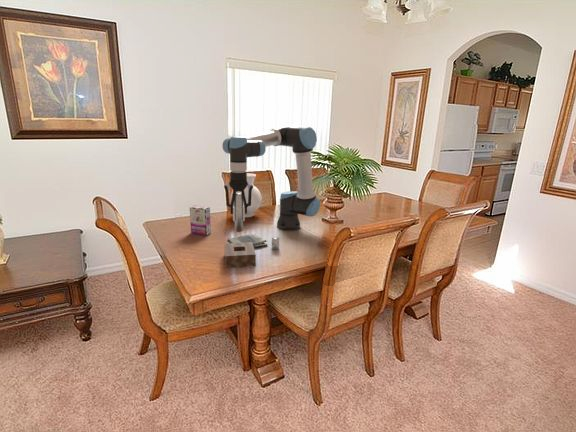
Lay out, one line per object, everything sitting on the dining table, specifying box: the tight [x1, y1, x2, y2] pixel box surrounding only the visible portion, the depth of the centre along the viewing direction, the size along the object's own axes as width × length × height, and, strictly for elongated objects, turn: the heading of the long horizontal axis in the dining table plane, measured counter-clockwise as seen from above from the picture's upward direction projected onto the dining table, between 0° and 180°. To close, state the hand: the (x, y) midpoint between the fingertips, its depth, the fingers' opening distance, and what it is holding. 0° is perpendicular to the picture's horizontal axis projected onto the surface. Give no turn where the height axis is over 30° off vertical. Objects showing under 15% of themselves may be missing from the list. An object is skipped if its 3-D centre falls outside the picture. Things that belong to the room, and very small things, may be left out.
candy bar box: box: [189, 205, 212, 237], centre depth 197 cm, size 11×5×16 cm, turn 70°
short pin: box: [271, 236, 280, 251], centre depth 179 cm, size 4×4×6 cm
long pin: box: [234, 193, 244, 233], centre depth 157 cm, size 4×4×18 cm
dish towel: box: [227, 233, 268, 250], centre depth 186 cm, size 19×18×3 cm
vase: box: [229, 172, 263, 218], centre depth 232 cm, size 19×21×30 cm
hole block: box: [224, 242, 257, 269], centre depth 164 cm, size 14×16×6 cm
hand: (238, 220), depth 158 cm, fingers closed on long pin, 4 cm apart
